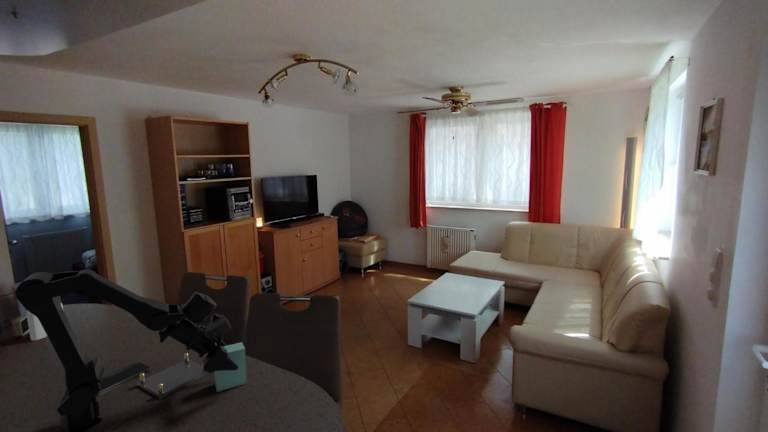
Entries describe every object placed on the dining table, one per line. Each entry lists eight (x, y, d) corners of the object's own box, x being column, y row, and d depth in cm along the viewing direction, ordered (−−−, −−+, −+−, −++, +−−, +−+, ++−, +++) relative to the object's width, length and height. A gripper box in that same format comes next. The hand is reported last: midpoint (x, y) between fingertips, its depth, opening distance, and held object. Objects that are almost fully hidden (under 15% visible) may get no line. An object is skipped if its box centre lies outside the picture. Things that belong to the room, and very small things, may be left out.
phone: (152, 368, 112) (95, 394, 99) (152, 371, 113) (95, 398, 100) (138, 361, 116) (81, 385, 103) (138, 364, 116) (82, 389, 103)
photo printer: (34, 342, 129) (30, 309, 128) (27, 339, 131) (23, 307, 129) (68, 329, 139) (64, 299, 137) (61, 328, 140) (57, 297, 139)
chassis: (160, 398, 99) (159, 387, 99) (137, 385, 105) (136, 374, 104) (210, 372, 112) (209, 361, 112) (187, 361, 118) (187, 351, 117)
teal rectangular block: (217, 392, 103) (214, 355, 101) (214, 384, 106) (212, 349, 105) (246, 383, 107) (244, 348, 105) (243, 375, 110) (241, 342, 109)
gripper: (216, 323, 93) (261, 351, 101) (207, 299, 109) (247, 326, 116) (183, 360, 90) (232, 386, 98) (179, 330, 106) (222, 355, 113)
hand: (234, 361), depth 106 cm, fingers open, 9 cm apart
